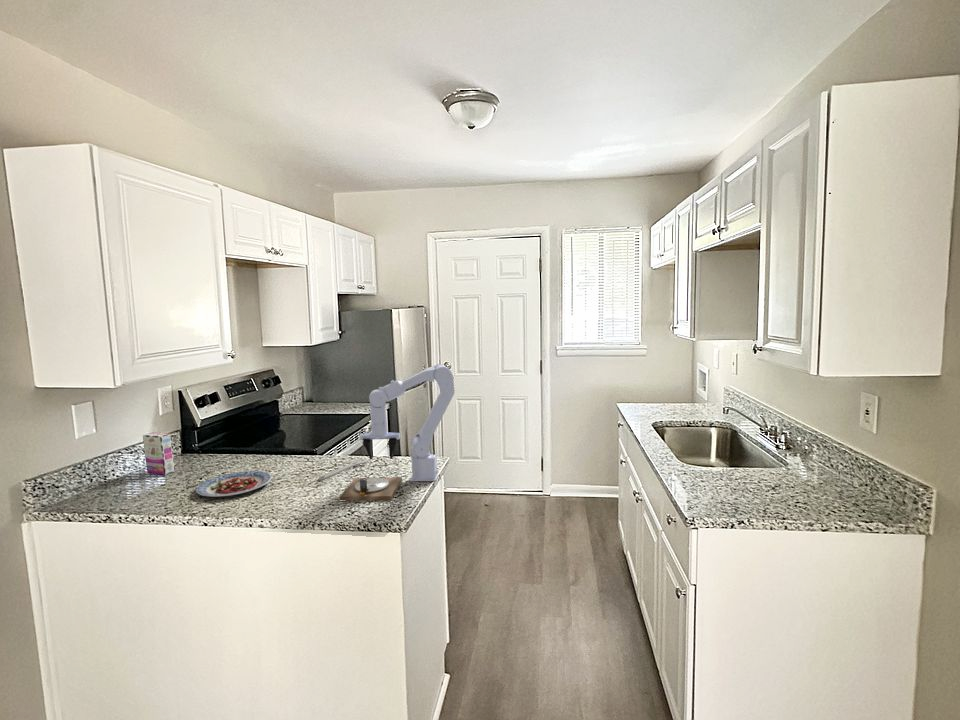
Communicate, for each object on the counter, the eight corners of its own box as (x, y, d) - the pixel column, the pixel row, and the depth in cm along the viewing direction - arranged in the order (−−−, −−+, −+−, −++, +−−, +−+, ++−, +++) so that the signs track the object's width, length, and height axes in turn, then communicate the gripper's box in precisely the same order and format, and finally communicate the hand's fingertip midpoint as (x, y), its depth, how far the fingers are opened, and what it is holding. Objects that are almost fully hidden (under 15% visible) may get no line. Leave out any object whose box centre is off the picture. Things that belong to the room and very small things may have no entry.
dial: (363, 479, 195) (363, 467, 194) (394, 481, 192) (393, 468, 191) (346, 494, 181) (345, 480, 180) (378, 495, 178) (377, 482, 178)
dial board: (402, 481, 196) (401, 476, 196) (391, 500, 178) (391, 495, 178) (355, 482, 197) (354, 477, 197) (339, 501, 179) (339, 496, 179)
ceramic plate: (286, 477, 206) (285, 470, 205) (239, 504, 181) (239, 495, 181) (231, 474, 213) (230, 467, 212) (179, 499, 188) (178, 491, 188)
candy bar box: (176, 471, 219) (171, 433, 216) (165, 475, 214) (160, 436, 212) (157, 469, 223) (153, 431, 221) (146, 473, 218) (141, 434, 216)
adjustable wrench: (321, 482, 200) (321, 478, 199) (311, 479, 203) (310, 475, 203) (370, 463, 220) (370, 459, 219) (360, 461, 223) (360, 457, 223)
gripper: (356, 425, 189) (359, 462, 191) (396, 424, 188) (398, 461, 190) (362, 420, 196) (364, 456, 198) (400, 419, 195) (402, 455, 197)
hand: (381, 458), depth 194 cm, fingers open, 7 cm apart
